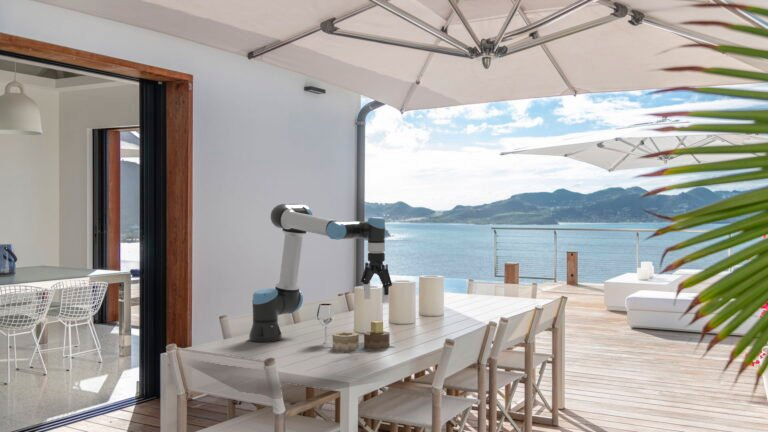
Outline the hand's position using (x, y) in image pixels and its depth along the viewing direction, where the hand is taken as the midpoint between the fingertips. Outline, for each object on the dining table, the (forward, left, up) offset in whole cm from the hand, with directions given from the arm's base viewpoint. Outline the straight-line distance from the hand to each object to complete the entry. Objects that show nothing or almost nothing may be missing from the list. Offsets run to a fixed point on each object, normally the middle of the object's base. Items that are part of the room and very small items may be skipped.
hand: (376, 300), depth 294 cm
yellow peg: (0, 0, -20) cm, 20 cm away
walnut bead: (0, 0, -20) cm, 20 cm away
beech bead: (-12, +6, -20) cm, 24 cm away
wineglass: (-13, +22, -21) cm, 33 cm away
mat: (-6, +3, -21) cm, 22 cm away
